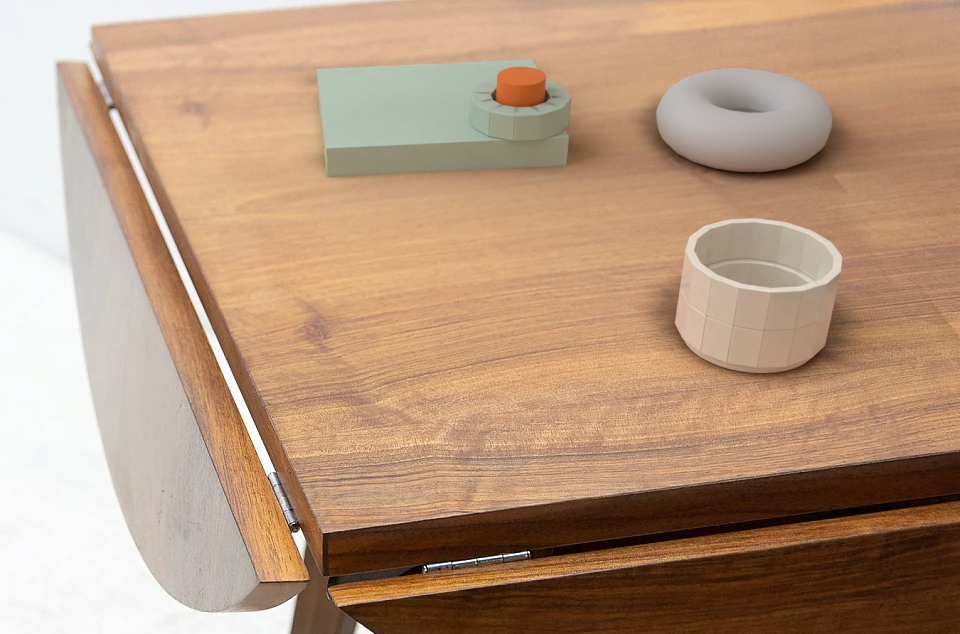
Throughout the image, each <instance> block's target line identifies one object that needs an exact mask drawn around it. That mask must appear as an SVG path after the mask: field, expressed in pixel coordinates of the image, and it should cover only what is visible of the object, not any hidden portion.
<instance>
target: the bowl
mask: <svg viewBox="0 0 960 634" xmlns="http://www.w3.org/2000/svg"><path fill="white" fill-rule="evenodd" d="M843 259H844V258H843V255H842V254H841V253H840V251H839V250H838V249H837V247H836V245H834V243H833V242H832V241H830V240H828V239H827V238H825V237H824V236H822V235H821V234H819V233H817V232H816V231H815V230H812V229H809V228H807V227H802V226H799V225H796V224H794V223H790V222H787V221H783V220H773V219H766V218H758V217H749V218H731V219H730V218H729V219H724V220H721V221H717V222H714V223H710V224H709V223H708V224H706V225H704V226H702V227H701V228H699V229H698V230H697V231H695V232H694V233H692V234H691V235H689V236H688V239H687V243H686V247H685V250H684V257H683V262H682V271H681V277H680V278H681V279H680V284H679V285H680V286H679V291H678V299H677V306H676V312H675V320H674V324H675V327H676V329H677V331H678V333H679V334H680V335H679V336H680V337H681V339H682V340H683V342H684V344H686V346H687V347H688V349H690V350H691V351H692V352H693V353H694V354H695V355H696V356H698V357H699V358H701V359H702V360H705V361H706V362H708V363H711V364H713V365H716V366H718V367H721V368H724V369H728V370H731V371H732V370H733V371H737V372H742V373H750V374H772V373H773V374H775V373H783V372H787V371H790V370H794V369H796V368H799V367H801V366H803V365H804V364H806V363H807V362H809V361H810V360H811V359H813V357H815V355H817V354H818V353H819V352H820V351H821V350H823V348H825V346H826V343H827V338H828V333H829V330H830V324H831V320H832V316H833V311H834V306H835V302H836V297H837V292H838V289H839V284H840V280H841V275H842V268H843V261H844V260H843Z"/></svg>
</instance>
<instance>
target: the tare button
mask: <svg viewBox="0 0 960 634" xmlns="http://www.w3.org/2000/svg"><path fill="white" fill-rule="evenodd" d="M546 80H547V76H546V73H545V72H544V71H542V70H540V69H539V68H538V69H535V68H530V67H511V68H506V69H504V70H502V71H500V72H499V73H498V75H497V90H496V102H498V103H500V104H502V105H506V106H512V107H533V106H536V105H539V104H542V103H544V99H545V85H546Z"/></svg>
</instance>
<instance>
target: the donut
mask: <svg viewBox="0 0 960 634" xmlns="http://www.w3.org/2000/svg"><path fill="white" fill-rule="evenodd" d="M655 118H656V119H655V120H656V124H657V129H658V132H659V134H660V137H661V139H662V140H663V141H664V142H665V143H666V144H667V145H668V146H669V147H670V148H671V149H672V151H674V152H675V153H676V154H677V155H680V157H681V156H682V157H683V158H685V159H687V160H689V161H691V162H693V163H695V164H700V165H702V166H706V167H709V168H713V169H716V170H722V171H728V172H737V173H765V172H773V171H779V170H786V169H789V168H792V167H795V166H797V165H801V164H804V163H805V162H806V161H808V160H809V159H811V158H812V157H814V156H815V155H816V154H818V153H819V152H820V151H822V149H823V148H824V147H825V146H826V144H827V142H828V139H829V137H830V133H831V131H832V129H833V118H834V117H833V114H832V111H831V108H830V106H829V105H828V102H827V100H826V99H825V97H824V96H823V94H821V93H820V92H819V91H817V89H815V88H814V87H812V86H811V85H810V84H808V83H806V82H803V81H801V80H799V79H796V78H794V77H791V76H789V75H786V74H783V73H778V72H774V71H771V70H764V69H755V68H743V67H742V68H739V67H737V68H734V67H733V68H730V67H729V68H726V67H725V68H719V69H711V70H705V71H702V72H698V73H695V74H691V75H688V76H686V77H684V78H682V79H681V80H679V81H677V82H676V83H674V84H673V85H671V86H670V87H668V89H667V90H666V92H665V93H664V95H663V96H662V98H661V100H660V101H659V103H658V105H657V109H656V111H655Z"/></svg>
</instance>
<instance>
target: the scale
mask: <svg viewBox="0 0 960 634" xmlns="http://www.w3.org/2000/svg"><path fill="white" fill-rule="evenodd" d="M511 67H530V68H535V69H538V70H539V67H538V65H537V63H536V61H535V59H534V58H527V59H525V58H524V59H523V58H522V59H505V60H503V59H502V60H483V61H482V60H481V61H480V60H479V61H462V62H440V63H438V62H437V63H436V62H435V63H417V64H416V63H415V64H398V65H397V64H396V65H376V66H375V65H373V66H355V67H353V66H352V67H332V68H317V69H316V86H317V87H316V88H317V102H318V109H319V119H320V128H321V134H322V135H321V137H322V146H323V154H324V163H325V172H326V177H327V178H333V177H334V178H337V177H354V176H356V177H357V176H375V175H376V176H377V175H378V176H379V175H397V174H399V175H400V174H401V175H402V174H419V173H441V172H460V171H463V172H464V171H480V170H481V171H482V170H498V169H499V170H503V169H523V168H544V167H565V166H566V167H567V165H568V155H569V143H570V136H569V134H568V132H567V129H566V128H567V127H568V126H569V124H570V122H571V121H570V120H571V119H570V118H571V108H572V96H571V95H570V92H569V91H568V88H566V87H565V86H563V85H561V84H558V83H556V82H554V81H552V80H549V79H546V85H545V99H544V103H542V104H539V105H536V106H533V107H512V106H506V105H502V104H500V103H498V102H496V90H497V75H498V73H499V72H500V71H502V70H504V69H506V68H511Z"/></svg>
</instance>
